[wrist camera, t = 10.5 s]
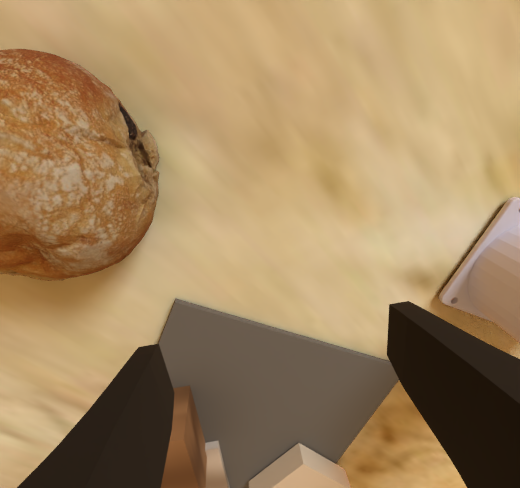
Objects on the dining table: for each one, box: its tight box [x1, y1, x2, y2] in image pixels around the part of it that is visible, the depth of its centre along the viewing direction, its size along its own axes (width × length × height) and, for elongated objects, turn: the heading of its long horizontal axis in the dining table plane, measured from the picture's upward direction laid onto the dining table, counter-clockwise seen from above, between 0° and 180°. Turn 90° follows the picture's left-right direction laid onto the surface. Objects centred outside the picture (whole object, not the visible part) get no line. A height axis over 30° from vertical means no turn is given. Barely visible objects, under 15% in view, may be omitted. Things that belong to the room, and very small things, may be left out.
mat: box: [158, 299, 399, 488], centre depth 26 cm, size 18×22×1 cm
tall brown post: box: [161, 385, 230, 488], centre depth 23 cm, size 13×4×4 cm, turn 7°
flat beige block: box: [249, 443, 351, 488], centre depth 27 cm, size 2×6×6 cm
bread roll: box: [0, 49, 159, 281], centre depth 15 cm, size 10×10×8 cm
